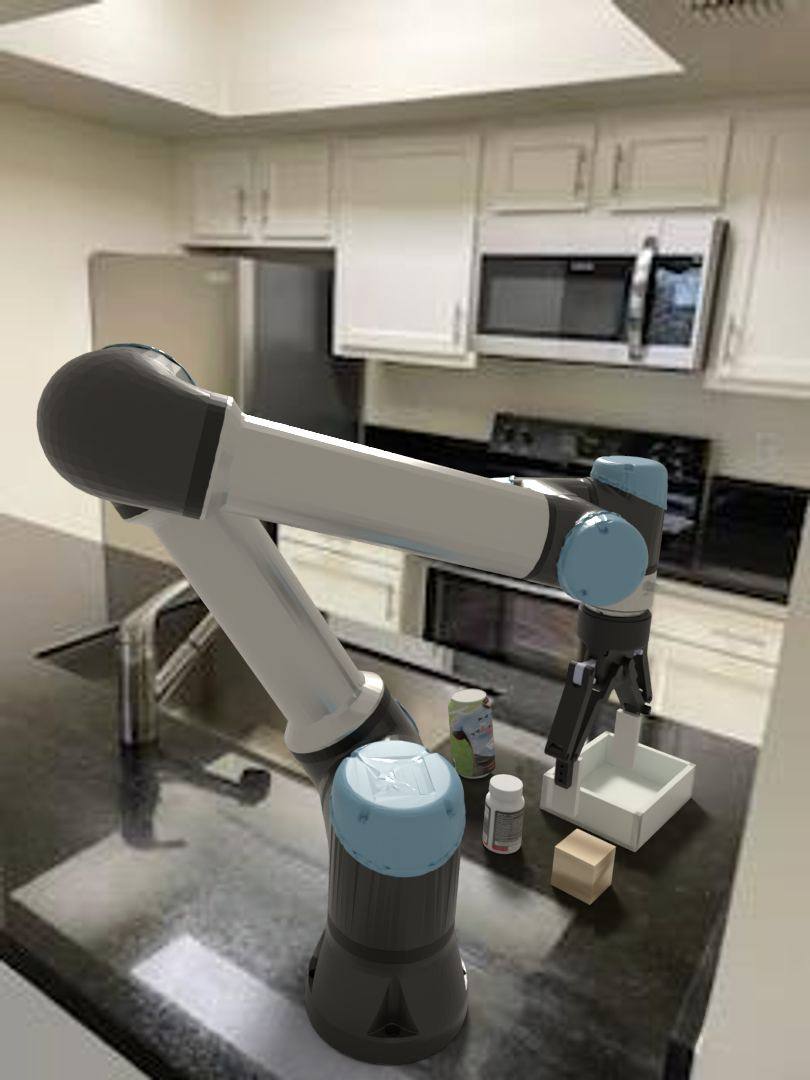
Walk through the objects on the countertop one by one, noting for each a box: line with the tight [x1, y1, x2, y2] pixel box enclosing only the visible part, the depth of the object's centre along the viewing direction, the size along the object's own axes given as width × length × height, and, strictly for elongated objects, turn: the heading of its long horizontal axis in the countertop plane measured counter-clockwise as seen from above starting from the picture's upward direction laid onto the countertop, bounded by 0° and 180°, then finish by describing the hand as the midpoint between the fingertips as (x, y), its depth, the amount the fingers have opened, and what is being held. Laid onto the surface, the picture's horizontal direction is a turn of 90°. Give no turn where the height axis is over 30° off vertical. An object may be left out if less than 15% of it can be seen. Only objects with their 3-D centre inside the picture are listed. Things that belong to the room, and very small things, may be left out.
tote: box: [539, 730, 697, 853], centre depth 113 cm, size 18×14×5 cm
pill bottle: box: [482, 773, 526, 855], centre depth 102 cm, size 5×5×8 cm
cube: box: [550, 828, 617, 906], centre depth 96 cm, size 5×5×5 cm
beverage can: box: [447, 688, 496, 780], centre depth 118 cm, size 6×7×12 cm
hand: (595, 786), depth 93 cm, fingers open, 13 cm apart
